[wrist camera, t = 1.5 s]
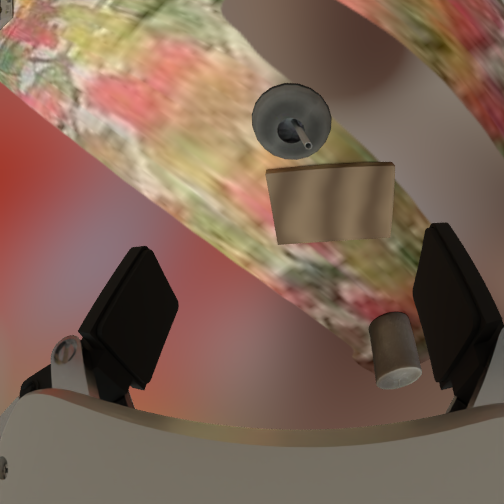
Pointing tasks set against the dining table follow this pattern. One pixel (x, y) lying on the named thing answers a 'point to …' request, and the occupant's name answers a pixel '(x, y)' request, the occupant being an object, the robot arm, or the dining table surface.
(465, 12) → the dining table surface
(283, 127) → the beverage cup
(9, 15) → the tea box
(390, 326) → the pillar candle
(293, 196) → the walnut board
